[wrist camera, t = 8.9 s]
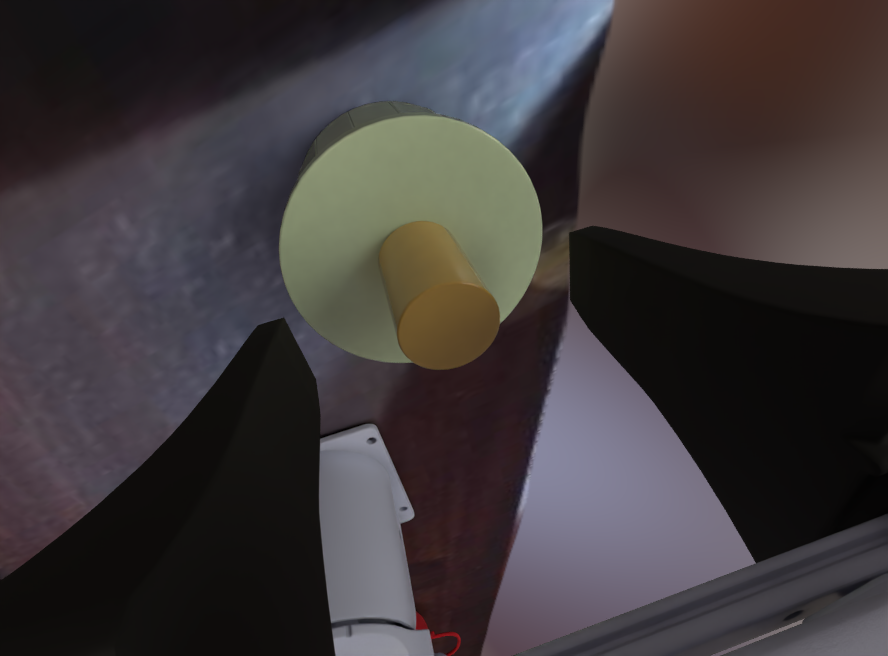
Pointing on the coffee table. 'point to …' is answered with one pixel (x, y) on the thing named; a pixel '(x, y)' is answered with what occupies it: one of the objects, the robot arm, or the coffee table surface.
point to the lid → (411, 240)
